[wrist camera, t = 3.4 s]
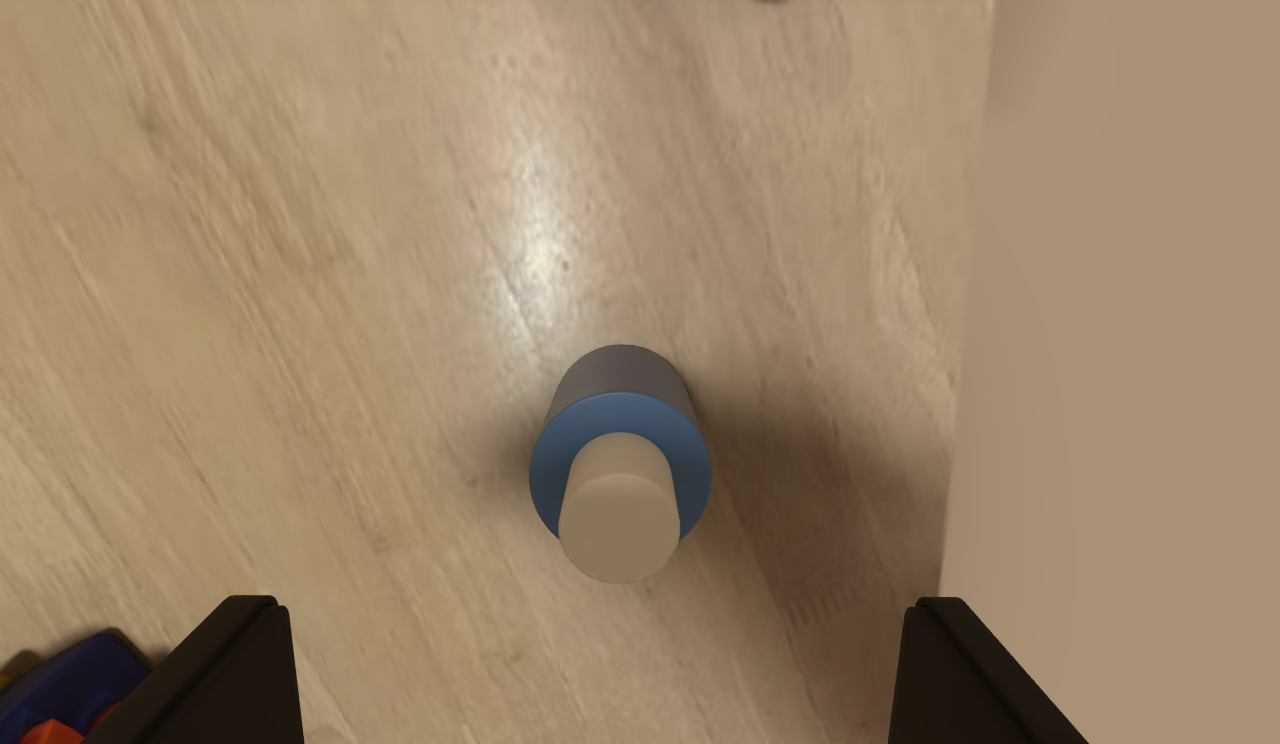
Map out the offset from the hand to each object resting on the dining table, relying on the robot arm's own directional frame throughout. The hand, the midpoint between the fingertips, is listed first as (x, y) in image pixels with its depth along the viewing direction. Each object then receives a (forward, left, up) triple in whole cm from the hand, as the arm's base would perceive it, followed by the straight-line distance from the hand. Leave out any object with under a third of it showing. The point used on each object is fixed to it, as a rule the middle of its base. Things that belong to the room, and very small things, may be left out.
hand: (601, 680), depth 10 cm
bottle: (0, 0, -15) cm, 15 cm away
